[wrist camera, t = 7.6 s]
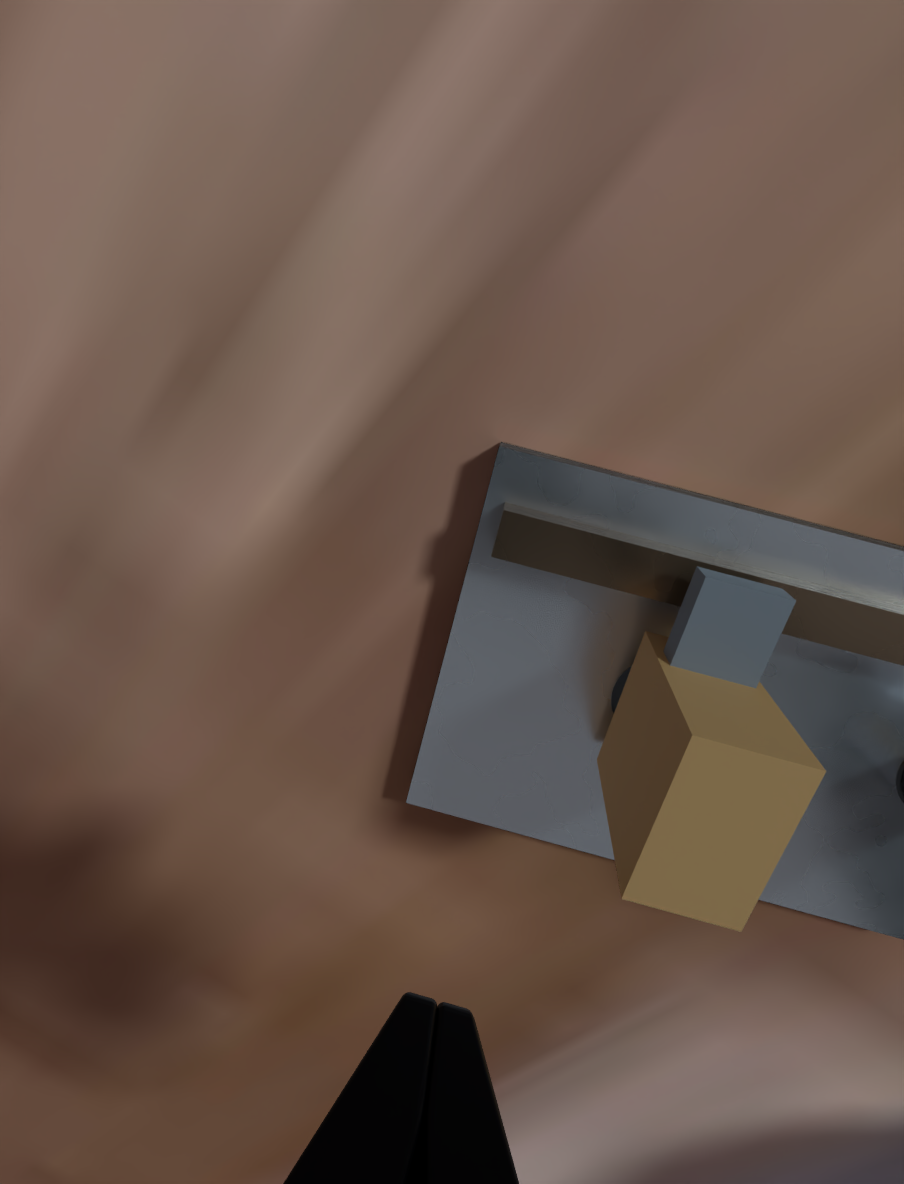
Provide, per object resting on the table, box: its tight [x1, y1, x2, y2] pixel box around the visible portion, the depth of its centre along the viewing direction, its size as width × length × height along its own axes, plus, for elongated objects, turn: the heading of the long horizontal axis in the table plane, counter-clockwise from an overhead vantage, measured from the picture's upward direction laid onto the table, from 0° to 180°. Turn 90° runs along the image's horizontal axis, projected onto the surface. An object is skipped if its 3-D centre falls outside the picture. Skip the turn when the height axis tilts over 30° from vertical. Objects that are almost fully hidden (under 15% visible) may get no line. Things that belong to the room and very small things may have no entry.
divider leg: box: [597, 566, 826, 932], centre depth 14 cm, size 6×2×5 cm, turn 166°
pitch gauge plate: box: [406, 442, 904, 939], centre depth 15 cm, size 11×16×6 cm
